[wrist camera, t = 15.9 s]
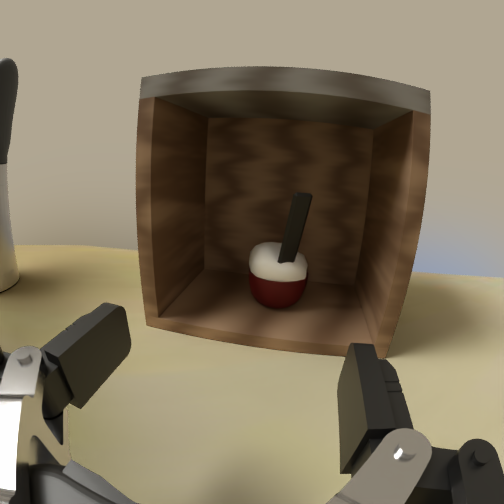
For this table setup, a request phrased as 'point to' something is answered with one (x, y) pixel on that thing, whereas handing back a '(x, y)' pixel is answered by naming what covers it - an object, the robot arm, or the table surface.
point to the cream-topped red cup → (281, 261)
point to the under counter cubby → (279, 201)
